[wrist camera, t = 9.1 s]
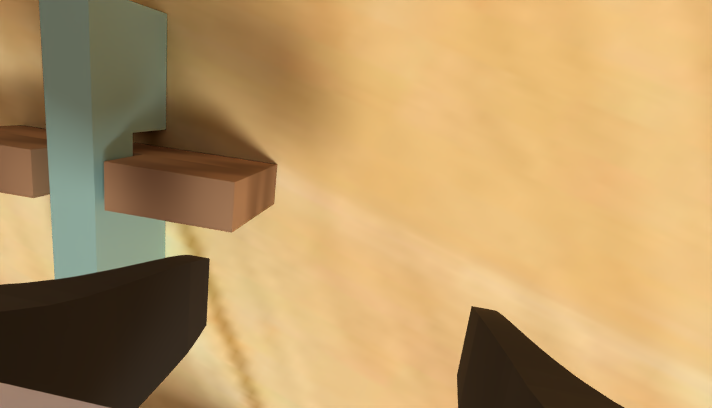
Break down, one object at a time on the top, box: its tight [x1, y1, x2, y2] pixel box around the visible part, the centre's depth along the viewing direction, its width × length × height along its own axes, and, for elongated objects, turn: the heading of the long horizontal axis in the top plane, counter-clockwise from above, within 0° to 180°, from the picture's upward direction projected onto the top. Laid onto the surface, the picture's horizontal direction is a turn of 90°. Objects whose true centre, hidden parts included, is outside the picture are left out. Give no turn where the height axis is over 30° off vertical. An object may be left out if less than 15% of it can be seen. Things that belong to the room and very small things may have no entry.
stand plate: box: [0, 125, 277, 232], centre depth 20 cm, size 14×2×5 cm, turn 83°
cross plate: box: [39, 0, 167, 279], centre depth 20 cm, size 14×2×5 cm, turn 173°
